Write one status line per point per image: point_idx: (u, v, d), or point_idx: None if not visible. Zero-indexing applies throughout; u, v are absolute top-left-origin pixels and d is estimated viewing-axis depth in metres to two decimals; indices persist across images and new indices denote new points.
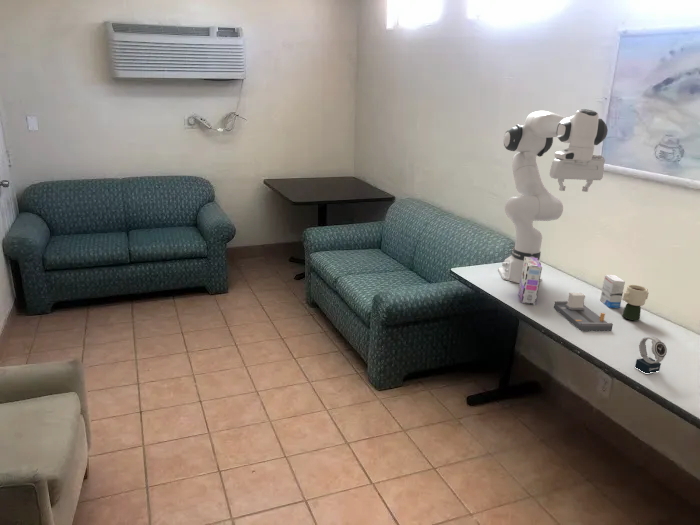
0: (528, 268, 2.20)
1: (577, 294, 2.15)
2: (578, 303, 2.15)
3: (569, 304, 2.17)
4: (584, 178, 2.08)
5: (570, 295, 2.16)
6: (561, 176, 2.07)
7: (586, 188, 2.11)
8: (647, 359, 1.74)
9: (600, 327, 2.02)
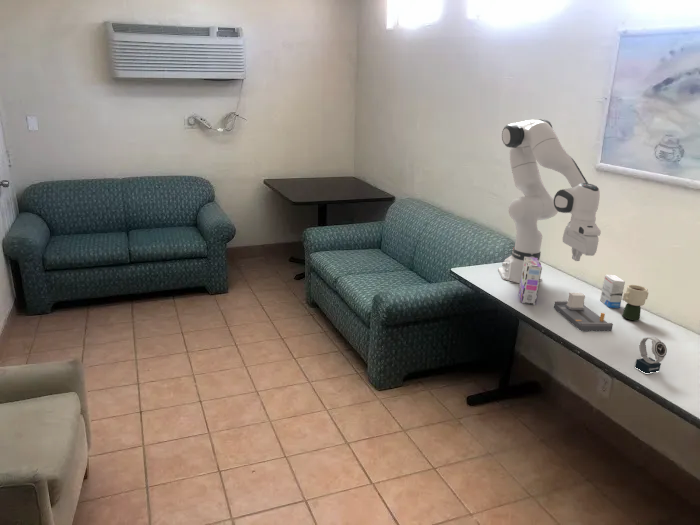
0: (528, 268, 2.20)
1: (577, 294, 2.15)
2: (578, 303, 2.15)
3: (569, 304, 2.17)
4: None
5: (570, 295, 2.16)
6: None
7: None
8: (647, 359, 1.74)
9: (600, 327, 2.02)
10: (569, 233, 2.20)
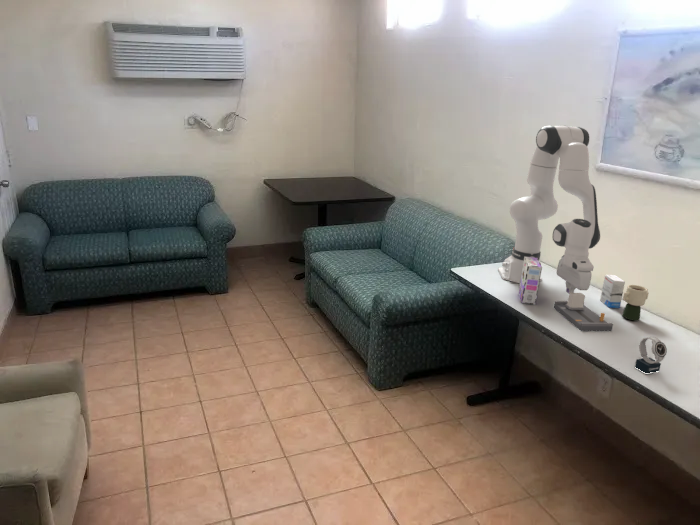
0: (528, 268, 2.20)
1: (577, 294, 2.15)
2: (578, 303, 2.15)
3: (569, 304, 2.17)
4: None
5: (570, 295, 2.16)
6: None
7: None
8: (647, 359, 1.74)
9: (600, 327, 2.02)
10: (562, 266, 2.25)
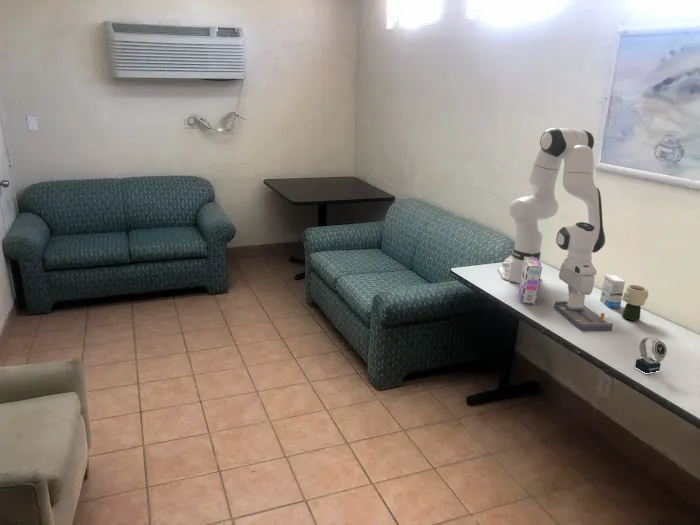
0: (528, 268, 2.20)
1: (577, 294, 2.15)
2: (578, 303, 2.15)
3: (569, 304, 2.17)
4: None
5: (570, 295, 2.16)
6: None
7: None
8: (647, 359, 1.74)
9: (600, 327, 2.02)
10: (565, 270, 2.22)
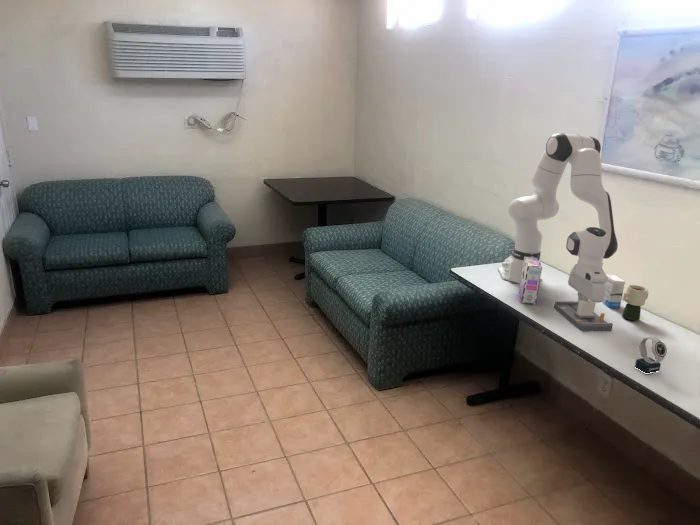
0: (528, 268, 2.20)
1: (587, 302, 2.08)
2: (589, 311, 2.08)
3: (579, 312, 2.09)
4: None
5: (580, 303, 2.09)
6: None
7: None
8: (647, 359, 1.74)
9: (600, 327, 2.02)
10: (575, 276, 2.15)
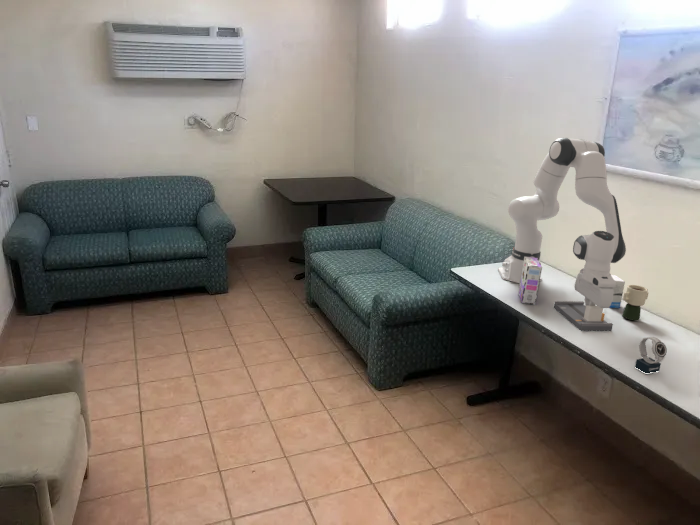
0: (528, 268, 2.20)
1: (595, 307, 2.03)
2: (596, 316, 2.03)
3: (586, 317, 2.04)
4: None
5: (587, 308, 2.04)
6: None
7: None
8: (647, 359, 1.74)
9: (600, 327, 2.02)
10: (581, 281, 2.10)
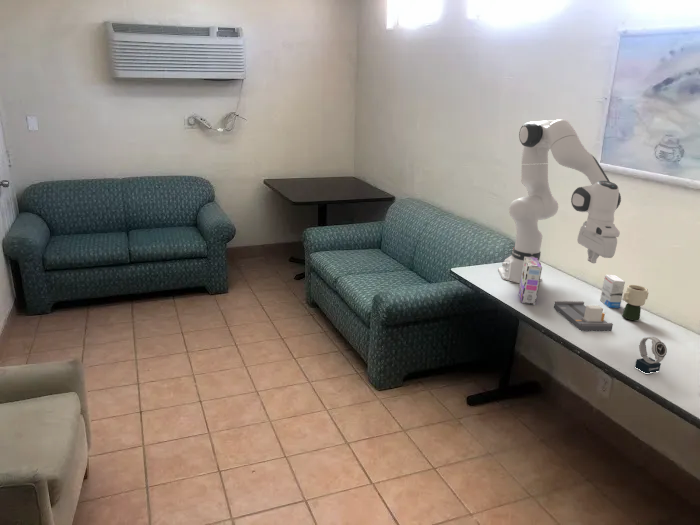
0: (528, 268, 2.20)
1: (595, 307, 2.03)
2: (596, 316, 2.03)
3: (586, 317, 2.04)
4: None
5: (587, 308, 2.04)
6: None
7: None
8: (647, 359, 1.74)
9: (600, 327, 2.02)
10: (584, 233, 2.08)
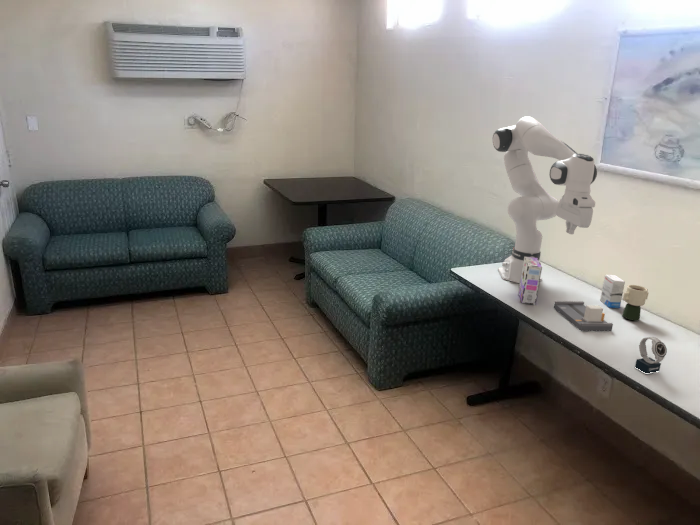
0: (528, 268, 2.20)
1: (595, 307, 2.03)
2: (596, 316, 2.03)
3: (586, 317, 2.04)
4: None
5: (587, 308, 2.04)
6: None
7: None
8: (647, 359, 1.74)
9: (600, 327, 2.02)
10: (563, 206, 2.15)
